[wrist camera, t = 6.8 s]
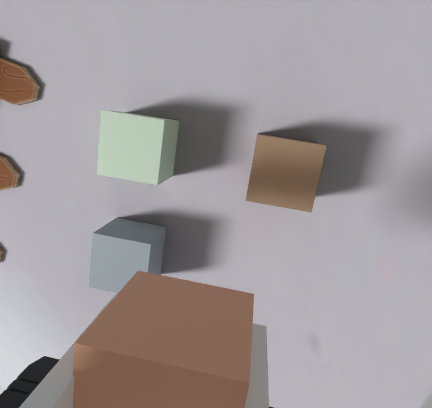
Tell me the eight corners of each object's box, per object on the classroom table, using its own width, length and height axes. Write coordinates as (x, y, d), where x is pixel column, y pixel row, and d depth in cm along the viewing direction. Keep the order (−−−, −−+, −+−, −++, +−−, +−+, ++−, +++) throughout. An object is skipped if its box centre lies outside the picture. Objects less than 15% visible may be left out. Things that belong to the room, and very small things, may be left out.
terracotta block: (137, 270, 14) (74, 343, 9) (254, 294, 14) (249, 383, 9) (127, 369, 16) (67, 478, 11) (234, 393, 15) (221, 520, 10)
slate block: (117, 217, 33) (92, 233, 28) (167, 226, 32) (150, 244, 28) (113, 264, 34) (89, 287, 29) (161, 273, 34) (144, 298, 29)
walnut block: (257, 133, 29) (257, 134, 24) (315, 142, 29) (326, 145, 24) (247, 188, 30) (245, 200, 26) (302, 198, 30) (311, 212, 25)
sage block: (126, 112, 30) (100, 109, 25) (179, 120, 30) (164, 119, 25) (121, 166, 32) (96, 174, 27) (173, 175, 31) (157, 185, 26)
